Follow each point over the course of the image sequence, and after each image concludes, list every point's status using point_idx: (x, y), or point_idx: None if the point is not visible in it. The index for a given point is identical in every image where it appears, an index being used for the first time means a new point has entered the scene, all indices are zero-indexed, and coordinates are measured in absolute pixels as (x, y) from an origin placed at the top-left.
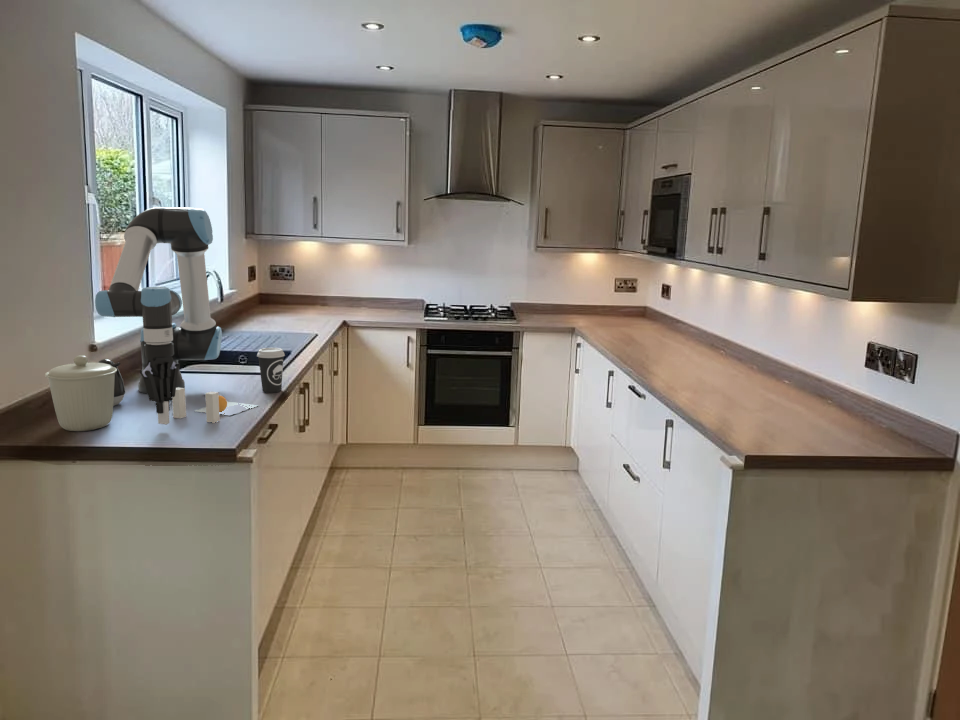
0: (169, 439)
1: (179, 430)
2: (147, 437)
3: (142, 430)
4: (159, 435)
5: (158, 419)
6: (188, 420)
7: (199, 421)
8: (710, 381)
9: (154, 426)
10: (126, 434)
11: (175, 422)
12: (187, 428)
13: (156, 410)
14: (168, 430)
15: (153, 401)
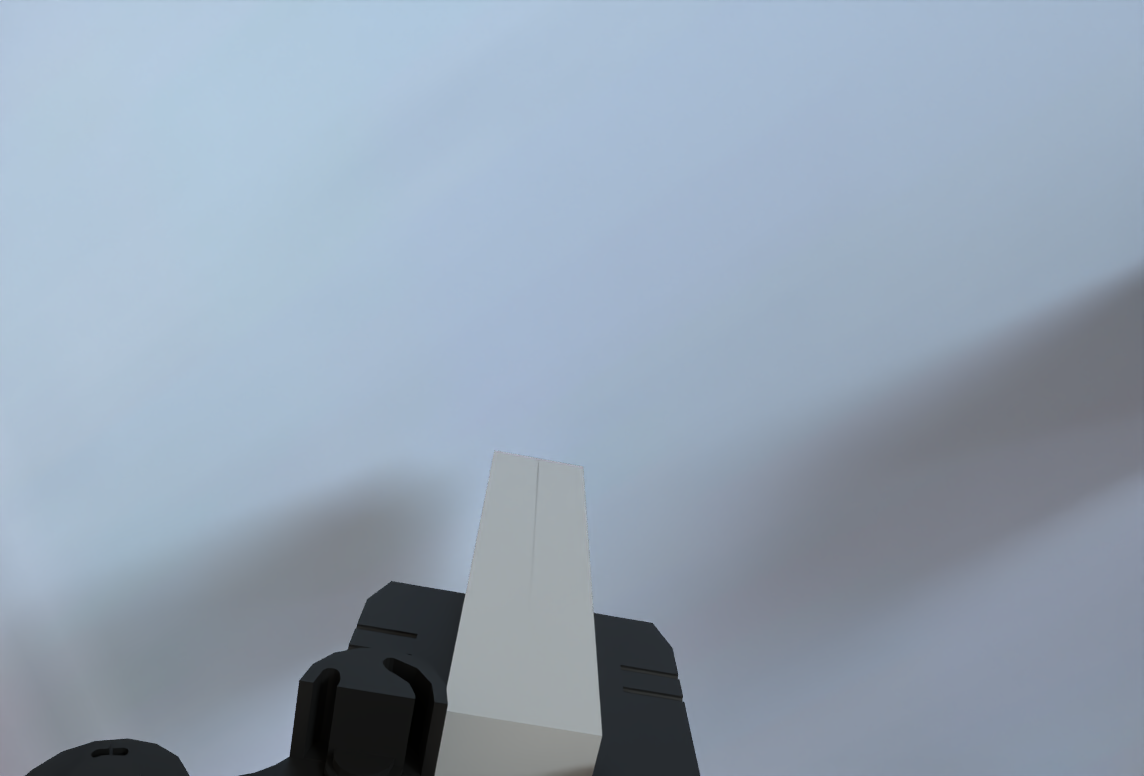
0: (194, 741)
1: None
2: (166, 439)
3: (459, 149)
4: (305, 538)
5: (488, 486)
6: (1101, 514)
7: (1057, 675)
8: None
9: (711, 204)
10: (182, 26)
11: (976, 393)
12: (701, 698)
13: (358, 623)
14: None
15: (357, 661)
